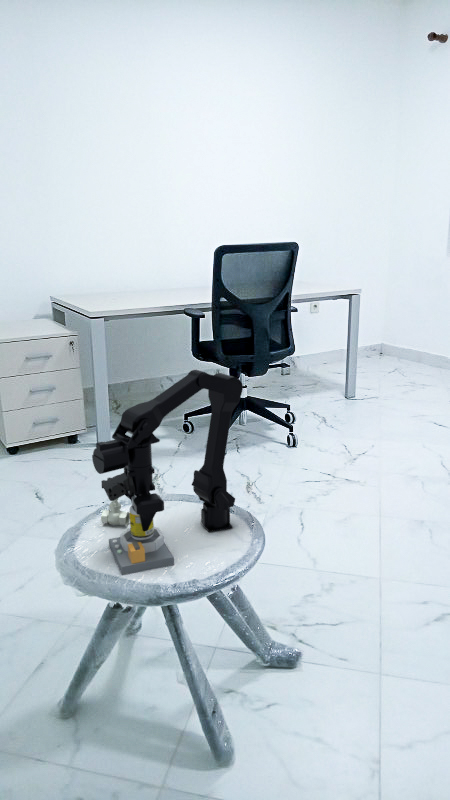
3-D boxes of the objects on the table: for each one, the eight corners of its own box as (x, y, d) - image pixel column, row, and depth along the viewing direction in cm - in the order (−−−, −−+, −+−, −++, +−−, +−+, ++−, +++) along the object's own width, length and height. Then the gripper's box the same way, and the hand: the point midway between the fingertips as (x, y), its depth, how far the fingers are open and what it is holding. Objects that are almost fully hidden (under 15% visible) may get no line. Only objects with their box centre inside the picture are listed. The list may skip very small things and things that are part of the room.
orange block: (141, 553, 144) (140, 539, 143) (145, 561, 141) (144, 546, 140) (128, 556, 143) (127, 541, 142) (131, 563, 140) (131, 549, 139)
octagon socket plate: (157, 538, 156) (156, 523, 155) (174, 565, 143) (173, 549, 142) (109, 546, 152) (108, 531, 150) (121, 575, 139) (121, 558, 138)
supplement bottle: (131, 530, 151) (129, 492, 148) (154, 529, 151) (152, 491, 149) (129, 541, 146) (127, 502, 143) (153, 540, 146) (151, 501, 144)
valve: (123, 531, 159) (121, 487, 156) (99, 529, 160) (96, 485, 157) (132, 520, 165) (130, 477, 162) (108, 518, 167) (106, 475, 163)
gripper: (96, 454, 149) (100, 515, 154) (112, 483, 133) (116, 550, 137) (142, 448, 153) (144, 507, 157) (163, 475, 137) (165, 540, 141)
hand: (142, 525), depth 148 cm, fingers closed on supplement bottle, 5 cm apart
